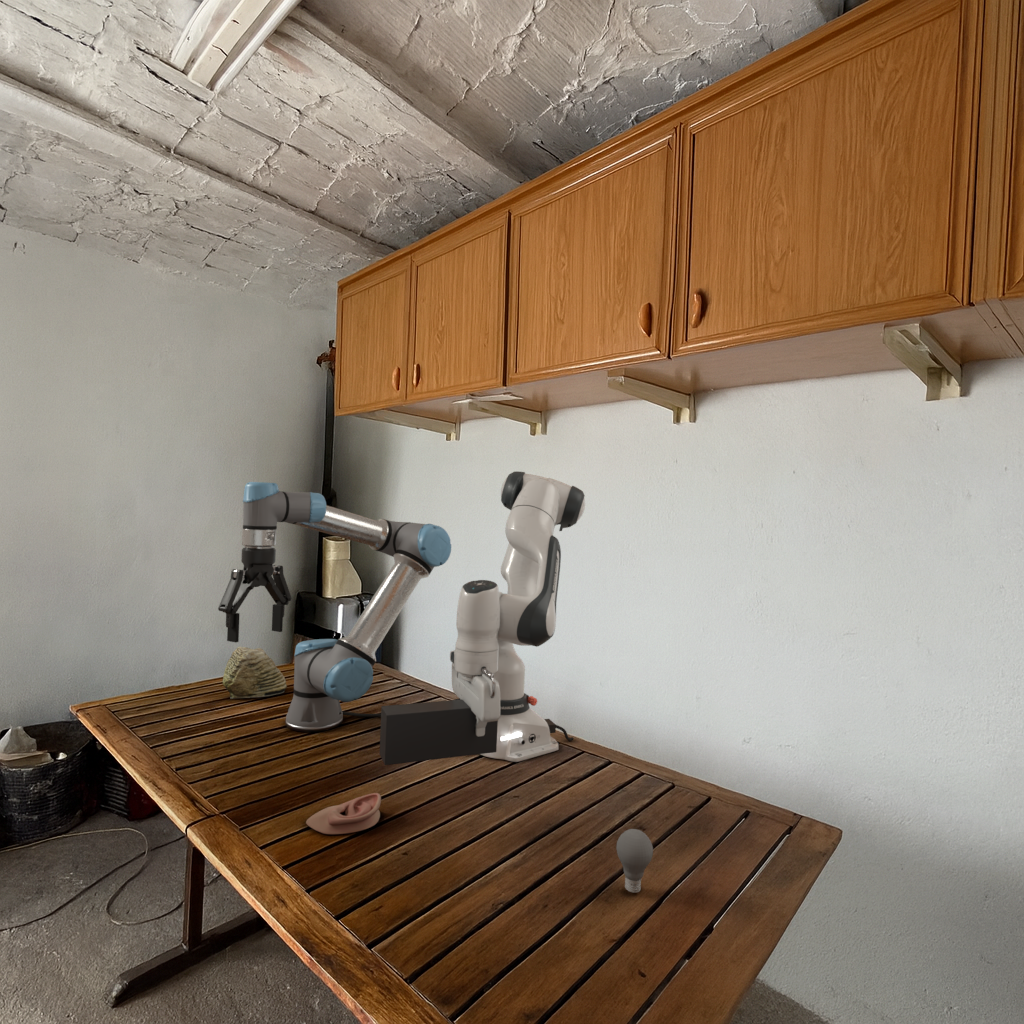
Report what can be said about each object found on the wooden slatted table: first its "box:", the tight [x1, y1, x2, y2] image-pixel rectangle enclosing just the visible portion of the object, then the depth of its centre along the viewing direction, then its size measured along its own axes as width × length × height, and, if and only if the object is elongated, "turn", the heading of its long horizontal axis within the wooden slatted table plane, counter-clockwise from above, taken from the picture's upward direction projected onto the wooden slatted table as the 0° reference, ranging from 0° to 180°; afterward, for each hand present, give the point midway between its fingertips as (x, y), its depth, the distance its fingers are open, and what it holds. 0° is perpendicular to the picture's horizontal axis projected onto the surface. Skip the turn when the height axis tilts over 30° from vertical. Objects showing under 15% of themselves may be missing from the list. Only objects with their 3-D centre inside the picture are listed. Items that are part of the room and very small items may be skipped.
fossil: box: [222, 646, 288, 699], centre depth 198 cm, size 9×18×15 cm, turn 132°
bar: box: [379, 699, 498, 766], centre depth 126 cm, size 23×6×10 cm, turn 112°
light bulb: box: [615, 828, 654, 894], centre depth 106 cm, size 6×6×10 cm
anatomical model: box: [305, 792, 382, 835], centre depth 124 cm, size 13×4×12 cm
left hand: (255, 636), depth 151 cm, fingers open, 13 cm apart
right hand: (473, 728), depth 129 cm, fingers closed on bar, 5 cm apart
